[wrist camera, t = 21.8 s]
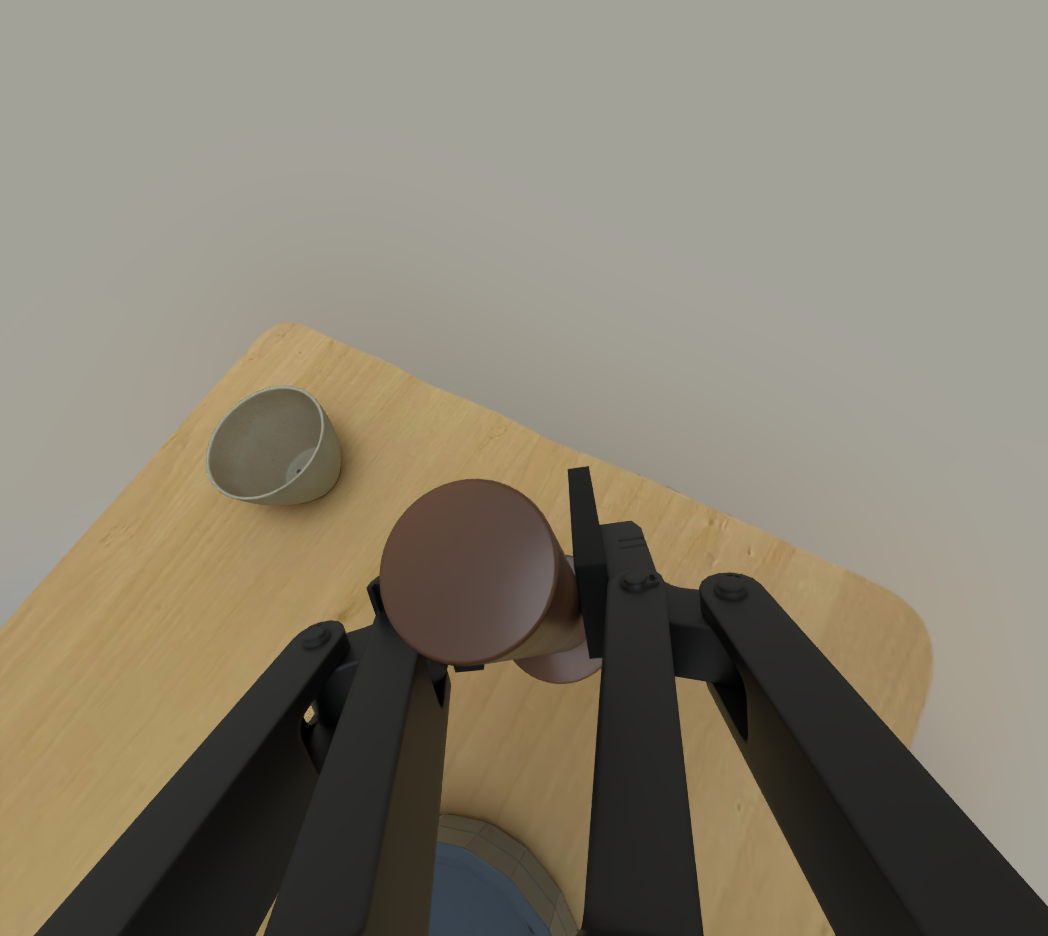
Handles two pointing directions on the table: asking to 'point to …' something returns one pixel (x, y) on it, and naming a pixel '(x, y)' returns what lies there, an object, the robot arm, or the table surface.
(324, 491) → the flower pot
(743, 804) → the table surface
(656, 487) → the table surface
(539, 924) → the bowl
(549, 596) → the wooden peg stand
